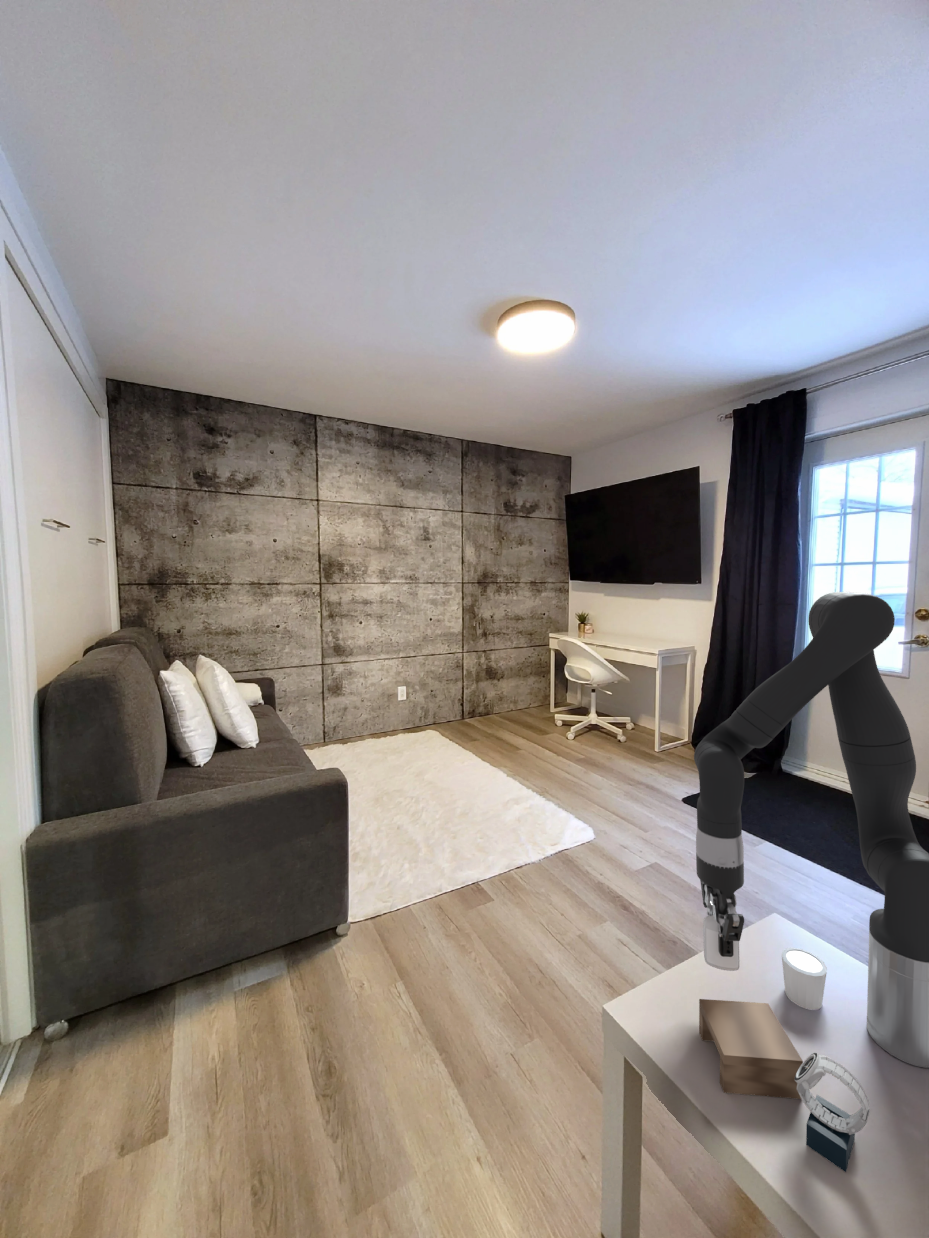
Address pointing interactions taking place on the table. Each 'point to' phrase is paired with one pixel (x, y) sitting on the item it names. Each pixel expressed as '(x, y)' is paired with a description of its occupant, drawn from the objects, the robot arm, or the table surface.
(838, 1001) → the table surface
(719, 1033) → the brown wooden block
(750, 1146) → the table surface
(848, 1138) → the watch
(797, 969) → the white oval container
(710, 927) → the eye dropper bottle
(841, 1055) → the table surface
